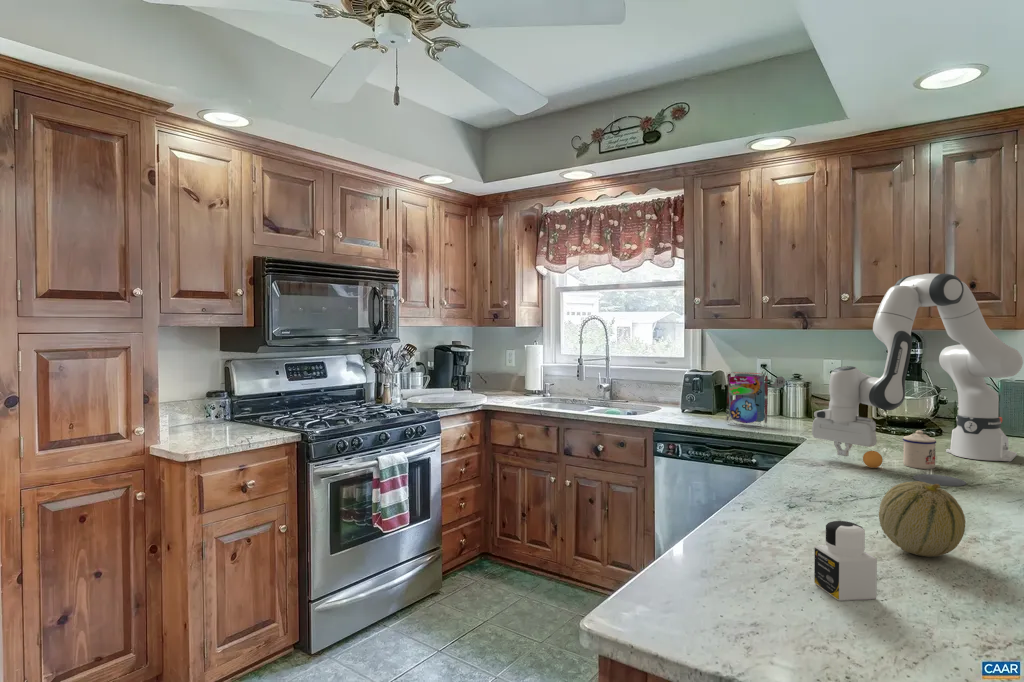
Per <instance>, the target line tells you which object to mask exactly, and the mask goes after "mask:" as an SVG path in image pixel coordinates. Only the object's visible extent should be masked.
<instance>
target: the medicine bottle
mask: <svg viewBox="0 0 1024 682" xmlns="http://www.w3.org/2000/svg"><path fill="white" fill-rule="evenodd" d="M865 540H866V530H865V529H864V528H863V527H862V526H861V525H858V524H857V523H854V522H851V521H847V520H846V521H845V520H832V521H830V522H827V524H825V544H821V545H819V544H818V545H815V546H814V566H813V568H814V570H813V571H814V573H813V576H814V578H813V579H814V585H816V586H818V587H819V588H820V589H821V590H823V591H825V592H826V593H827V594H829V595H830V596H831V597H833V598H834V599H835V600H836V601H838V602H842V601H844V602H845V601H846V602H847V601H861V600H863V601H864V600H876V599H877V598H878V597H877V595H878V591H877V589H878V587H877V586H878V577H877V576H878V559H877V558H876V557H875V556H873V555H871V554H869V553H868V552H865V551H866V550H865V549H866V547H865V546H866V544H865V542H866V541H865Z"/></svg>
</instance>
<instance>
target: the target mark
mask: <svg viewBox="0 0 1024 682" xmlns="http://www.w3.org/2000/svg"><path fill="white" fill-rule="evenodd" d="M912 479H913V480H915V481H920V482H925V483H928V484H933V485H934V484H939V485H940V486H942V487H943V486H945V487H962V486H965V485H967V481H966V480H963V479H960V478H958V477H955V476H954V477H953V476H950V475H949V476H948V475H942V474H931V473H928V474H927V473H923V474H922V473H920V474H914V475H913V476H912Z"/></svg>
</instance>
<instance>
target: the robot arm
mask: <svg viewBox="0 0 1024 682" xmlns="http://www.w3.org/2000/svg"><path fill="white" fill-rule="evenodd" d="M920 307H921V308H923V307H924V308H928V307H936V309H937V311H938V315H939V316H940V319H941V321H942V323H943V326H944V329H945V333H946V334H947V336H948V337H949V338H950V339H951V340H952V341H955V342H957V343H959V344H955V345H950V346H949V345H948V346H946V347H944V348H942V350H941V351H940V354H939V357H938V361H939V365H940V367H941V369H942V370H943V371H945V372H946V373H947V374H948V375H949V377H950V378H951V380H952V381H953V384H954V385H955V389H956V391H957V400H958V401H957V402H958V406H957V407H958V412H957V413H958V414H956V419H955V420H956V425H957V426H956V427H955V428H953V429H952V431H951V441H950V448H946V450H945V451H946V453H949V454H952V455H953V456H957V457H960V458H966V459H971V460H979V461H995V462H996V461H997V462H999V461H1000V462H1012V461H1014V459H1015V458H1017V456H1018V454H1017V451H1013V450H1009V444H1010V443H1009V437H1008V436H1007V435H1006V434H1005V433H1004V431H1003V430H1002V429H1001V428H1002V425H1001V424H1003V417H1002V416H999V403H1000V402H999V401H1000V400H999V394H998V393H997V392H996V390H994V389H992V388H990V387H989V385H988V384H987V383H986V380H985V378H991V379H992V378H995V379H1001V378H1009V377H1014V376H1016V375H1017V374H1018V373H1020V371H1021V369H1022V367H1023V363H1024V362H1023V361H1024V360H1023V357H1022V354H1021V353H1020V352H1019V351H1018V350H1017V349H1015V348H1013V347H1011V346H1009V345H1008V344H1007V343H1005V342H1004V341H1003V340H1001V339H1000V338H999V337H997V335H996V334H995V333H994V332H993V331H992V330H991V329H990V328H989V326H988V325H987V322H986V320H985V318H984V316H983V314H982V311H981V309H980V306H979V304H978V302H977V300H976V297H975V296H974V294H973V292H972V291H971V289H970V287H969V286H968V285H967V284H966V283H965V282H964V281H962V280H961V279H960V278H959V277H958V276H957V275H954V274H949V273H924V274H917V275H908V276H904V277H902V278H900V279H898V281H896V283H895V284H894V285H893V286H890V288H888V289H887V291H886V293H885V294H884V296H883V298H882V300H881V302H880V304H879V307H878V308H877V311H876V313H875V317H874V320H873V324H872V332H873V333H874V335H875V337H876V338H877V339H878V340H879V341H880V342H881V343H883V344H884V345H885V347H886V348H887V356H886V360H885V365H884V370H883V374H882V375H881V376H880V377H877V376H872V375H870V374H866V373H864V372H862V371H861V370H859V369H858V368H857V367H856V366H848V365H846V366H840V367H836V368H834V369H832V371H831V373H830V376H829V384H828V385H829V387H828V394H829V397H830V399H829V403H828V408H824V409H822V410H816V411H814V413H813V416H814V419H813V421H812V425H811V435H812V437H813V438H814V439H819V440H826V441H833V446H834V447H835V449H836V450H837V452H836V453H837V455H838V456H840V457H841V456H842V457H848V456H849V452H850V450H851V448H853V445H856V446H860V447H861V446H862V447H867V448H871V447H874V446H876V445H877V440H878V439H877V433H876V430H877V423H876V421H875V420H873V419H872V418H871V417H864V416H860V415H859V409H860V408H859V407H860V406H859V405H860V404H862V405H867V406H870V407H875V408H877V409H881V410H883V411H893V410H896V409H897V408H899V407H900V406H902V405H903V403H904V401H905V397H906V379H907V378H906V377H907V374H908V367H909V362H910V358H911V355H912V354H911V353H912V350H913V349H912V347H913V338H912V329H913V326H914V322H915V319H916V316H917V312H918V309H919V308H920ZM842 443H844V446H845V448H844V449H842V446H841V445H842Z"/></svg>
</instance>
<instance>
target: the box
mask: <svg viewBox="0 0 1024 682" xmlns="http://www.w3.org/2000/svg"><path fill="white" fill-rule="evenodd" d="M732 374H735V375H734V376H732ZM768 376H769V375H768V374H767V373H763V372H749V371H748V372H745V371H742V372H741V371H729V372H728V373H727V374H726V378H727V380H726V385H727V390H725V391H726V394H725V395H726V396H725V397H726V404H727V405H726V423H729V419H731V421H732V422H731V423H732V424H731V427H732V426H733V427H734V425H736V423H740V425H745V424H749V426H751V427H753V428H755V429H756V426H753V423H754V422H755V423H754V425H757V426H758V425H760V424H761V422H764V425H763V426H764V427H763V426H762V425H760V426H758V427H759V428H762V429H763V428H767V427H768V425H767V424H768V404H769V403H768V401H769V400H768V396H769V395H768V394H769V388H768V386H769V385H768V380H769V377H768ZM785 383H786V380H785V378H784V377H783V376H777V377H776V378H775V381H774V383H772V384H770V386H771V387H776V388H778V389H779V388H782V387H783V386H785ZM732 396H734V397H735V398H734V399H733V398H732ZM728 409H729V410H728ZM728 414H729V416H728ZM733 421H735V422H736V423H735V422H733ZM756 422H757V423H756ZM751 423H752V425H751ZM740 427H742V428H743V426H740Z"/></svg>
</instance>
